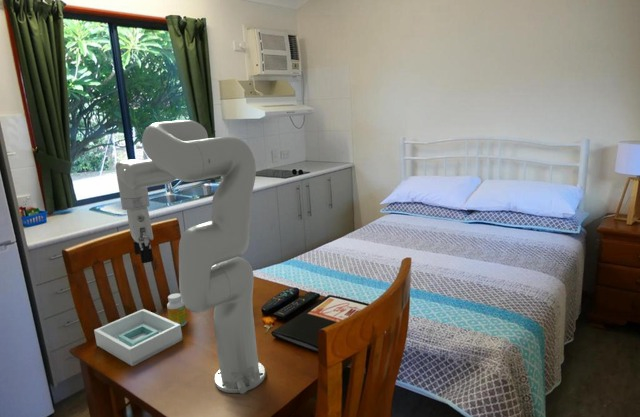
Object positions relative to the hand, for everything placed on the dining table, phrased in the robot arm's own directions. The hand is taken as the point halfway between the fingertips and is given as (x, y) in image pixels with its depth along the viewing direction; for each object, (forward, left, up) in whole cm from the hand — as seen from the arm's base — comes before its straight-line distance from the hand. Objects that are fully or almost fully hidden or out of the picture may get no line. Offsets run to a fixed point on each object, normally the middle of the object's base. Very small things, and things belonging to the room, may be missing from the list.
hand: (144, 257), depth 131 cm
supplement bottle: (+1, -7, -25) cm, 25 cm away
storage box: (-5, +5, -24) cm, 25 cm away
